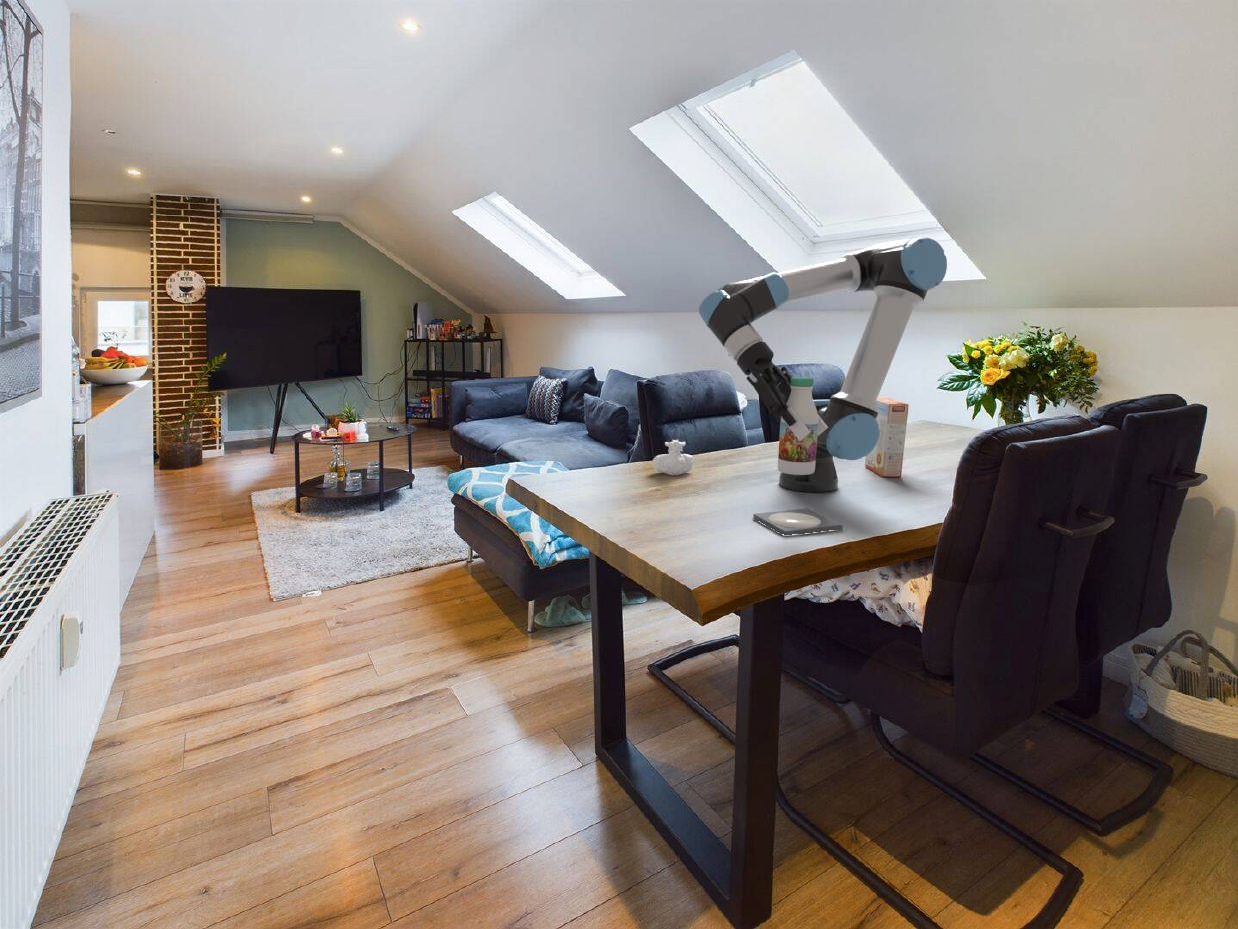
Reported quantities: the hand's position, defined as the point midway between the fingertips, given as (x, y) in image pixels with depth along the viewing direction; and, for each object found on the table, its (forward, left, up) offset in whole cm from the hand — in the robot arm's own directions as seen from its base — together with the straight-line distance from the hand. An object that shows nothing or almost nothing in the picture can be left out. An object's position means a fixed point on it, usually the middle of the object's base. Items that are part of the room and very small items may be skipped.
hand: (814, 433), depth 140 cm
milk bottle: (+2, -3, -9) cm, 9 cm away
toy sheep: (+8, -55, -21) cm, 59 cm away
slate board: (+1, -3, -21) cm, 21 cm away
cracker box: (-51, -39, -21) cm, 68 cm away
